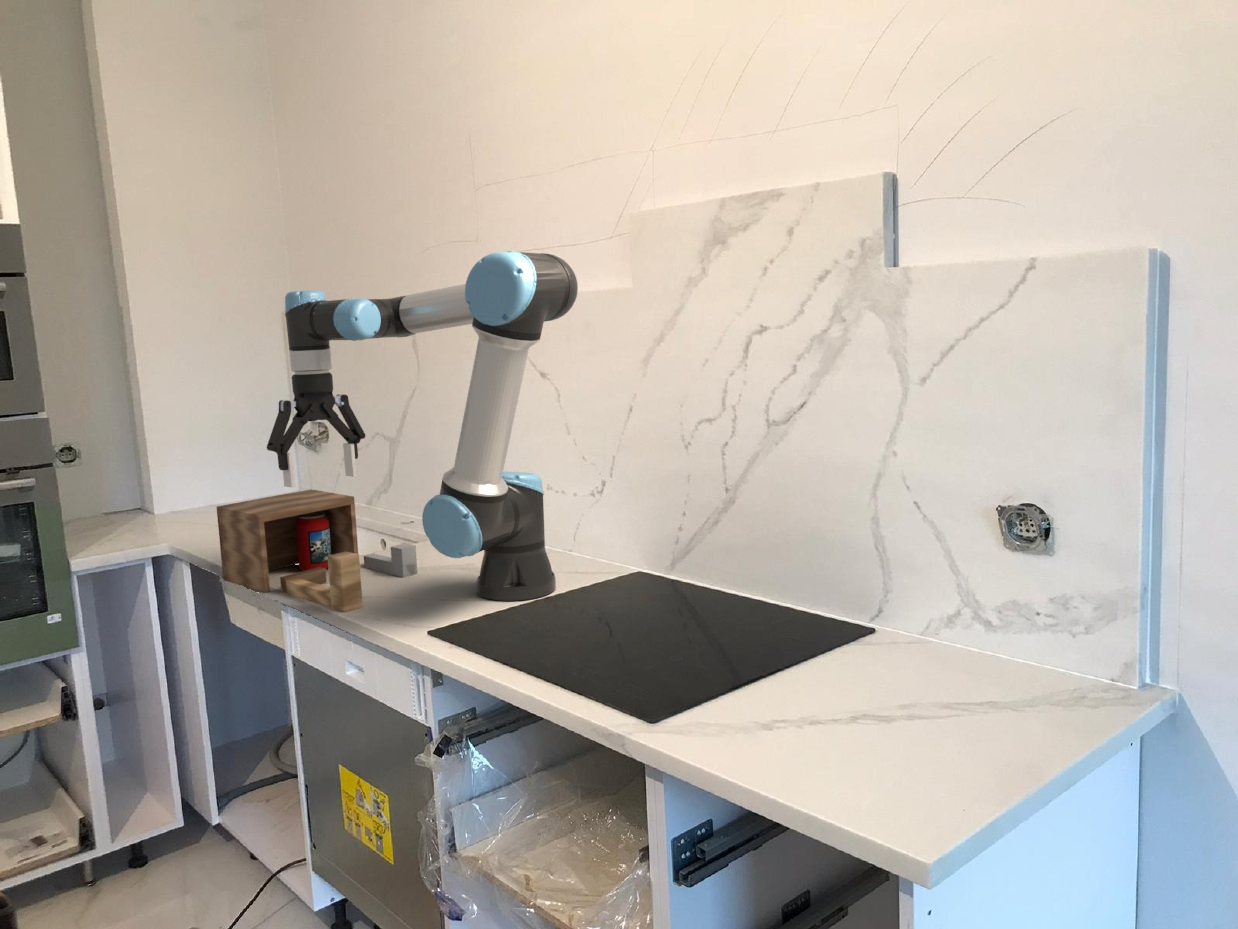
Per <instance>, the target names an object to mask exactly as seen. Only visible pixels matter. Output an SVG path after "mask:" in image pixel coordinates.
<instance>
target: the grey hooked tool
mask: <svg viewBox="0 0 1238 929" xmlns="http://www.w3.org/2000/svg"><path fill="white" fill-rule="evenodd" d="M417 560H418V559H417V546H416V544H409V543H406V542H405V543H401V544H397V545H393V546H392V545H391V546H390V556H387V555H383V554H378V553H370V554H365V555H363V567H364V568H366V569H370V568H371V569H370V570H375V571H379V572H384V573H388V574H391V575H392V576H394V577H395V576H396V577H398V578H407V577H408V578H409V577H411V576H414V575H418V561H417Z"/></svg>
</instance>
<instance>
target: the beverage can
mask: <svg viewBox="0 0 1238 929" xmlns="http://www.w3.org/2000/svg"><path fill="white" fill-rule="evenodd" d="M296 537H297V549H298V560H299V563H298V568H299V569H300V570H302V571H306V570H310V569H314V568H318V567H322V568H326V569H327V570H329V569H328V556H329V555H331V543H330V530H329V521H328V519H327V517H326V516H325V513H323V512H311V513H306V514H301V515H298V519H297V521H296Z"/></svg>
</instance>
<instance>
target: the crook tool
mask: <svg viewBox="0 0 1238 929" xmlns="http://www.w3.org/2000/svg"><path fill="white" fill-rule="evenodd" d="M360 562H361V561H360V554H359V553H358V554H355V553H351V552H347V551H345V552H341V553H337V554H333V555H329V556H328V569H327V570H328V581H329V582H328V581H327V570H326V568H322V567H318V568H314V569H310V570H306V571H303V570H302V571H299V572H294V573H291V574H285V575H283V576H280V577H279V580H280V591H281V593H284V594H288V595H292V596H294V597H298V598H302V599H305V600H309V601H311V602H315V603H319V604H321V605H322V604H323V605H325V606H329V607H330V608H331V610H332V609H333V610H335V611H339V612H342V613H347V612H350V611H354V610H356V609H360V608H362V607H364V606H363V604H364V603H363V593H362V592H363V590H362V579H361V578H362V577H361V563H360ZM327 582H328V583H329V586H327V585H324V584H327Z"/></svg>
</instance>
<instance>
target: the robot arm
mask: <svg viewBox="0 0 1238 929" xmlns="http://www.w3.org/2000/svg"><path fill="white" fill-rule="evenodd" d="M578 289H579V285H578V279H577V275H576V274H575V271H574V270H573V268H572V267H571V266H570V265H569V263H568V262H566V261H565V260H564V259H563V258H561V257H559V256H557V255H554V254H550V253H543V252H542V253H536V252H523V251H513V250H505V251H500V252H498V251H497V252H493V253H489V254H486V255H485V256H484V257H482V258H480V259H479V260H478V261H476V263H475V264H473V266H472V268H471V269H470V271H469V273H468V275H467V278H466V281H465V283H463V284H458V285H452V286H448V287H443V288H438V289H432V290H428V291H423V292H417V293H412V294H408V295H402V296H396V297H390V298H377V299H376V298H360V297H358V298H357V297H356V298H352V297H351V298H347V299H346V298H345V299H335V300H334V299H333V300H327V299H326V293H325V292H324V291H322V290H301V291H289V292H287V293H286V294H285V297H284V300H285V301H284V304H285V305H284V309H285V310H284V317H285V320H286V321H285V322H286V329H287V330H286V332H287V340H288V351H289V361H290V371H292V372H293V373H294V374H292V375H291V386H292V393H293V395H294V397H293V401H291V400H286V399H282V400H279V402H278V411H277V412H278V413H277V416H276V418H275V422H274V424H273V427H272V430H271V433H270V436H269V439H268V442H267V445H266V450H267V451H269V452H274V453H275V454H277V455H276V456H277V463H278V469H279V470H280V471H282V476H283V477H282V478H283V485H284V487H288V488H295V487H296V481H295V480H296V479H295V467H294V459H293V453H292V452H289V451H290V449H291V447H292V446H293V444H294V442H295V441H296V439H297V438H298V436H299V434H300V432H301V431H302V429H303V427H304V426H305V425H306V424H308V422H316V421H318V420H319V421H327V422H328V423H329V424H330V425H331V426H332V427H333V428H334V429H335V430H336V432H337V433H338V434H339V435H340V436H341V437H342V438H343V439H344V441H346V442H345V443H342V446H343V460H344V470H345V476H346V477H357V476H358V475H357V464H356V460H357V459H358V457H359V453H358V452H359V450H358V444H360V442H361V440H363V439H364V440H365V438H366V433H365V432H364V430H363V428H362V426H361V423H360V422H359V421H358V418H357V417H356V415H355V412H354V411H353V409H352V408H351V405H350V401H349V397H348V394H341V393H339V394H336V395H335V396H334V395H333V391H334V381H333V374H332V373H331V372H330V370H331V369H332V368H333V366H332V358H331V345H330V341H353V342H356V341H364V340H369V339H382V338H383V339H385V338H407V337H409V336H414V335H416V334H420V333H426V332H431V331H437V330H443V329H448V328H449V329H450V328H455V327H462V326H468V325H471V327H472V328H473V330H474V332H475V333H476V334H477V336H478V339H477V346H476V351H475V355H474V361H473V365H472V372H471V376H470V382H469V387H468V392H467V397H466V403H465V408H464V413H463V416H462V418H463V419H462V424H461V428H460V431H459V432H460V433H459V438H458V442H457V449H456V454H455V459H454V463H453V464H454V465H453V467H452V468H451V469H449V470H447V471H446V472H444V473H443V476H442V479H441V480H442V481H441V484H440V491H439V494H437V495H433V497H431V498H430V499H429V500H428V501H427V503H426V504H425V506H424V508H423V510H422V518H421V520H422V527H423V528H422V529H423V530H424V533H425V535H426V537H427V538H428V540H429V543H430V545H431V546H432V547H433V548H434V549H435V550H436V551H437V552H438V553H440V554H441V555H443V556H445V557H447V558H448V557H449V558H452V559H461V558H464V557H472V556H474V555H476V554H478V553H480V552H484V553H483V557H482V561H481V566H480V571H479V575H478V576H477V579H476V593H477V595H478V596H480V597H482V598H485V599H488V600H495V601H507V602H508V601H512V602H514V601H525V600H526V601H527V600H532V599H536V598H541V597H545V596H547V595H549V594H551V593H553V592H554V591H556V587H557V586H556V576H555V573H554V571H553V569H552V566H551V562H550V560H549V557H548V553H547V551H546V541H545V540H546V539H545V538H546V537H545V534H546V533H545V514H544V511H545V509H544V495H545V493H544V491H543V481H542V478H541V477H540V476H539V475H538V474H536V473H533V472H524V471H523V472H521V471H504V470H505V469H504V468H505V464H506V459H507V454H508V449H509V445H510V439H511V435H512V430H513V425H514V421H515V416H516V411H517V407H518V406H517V405H518V402H519V396H520V393H521V388H522V384H523V379H524V374H525V373H524V372H525V368H526V364H527V359H528V354H529V351H530V350H529V349H530V348H531V347H533V345H536V344H537V343H539V342H540V341H541V337H542V331H543V328H544V322H551V321H555V320H557V319H560V318H562V317H563V316H565V315H566V314H567V313H568V312H569V311H570V310H571V309H572V307H573V306H574V304H575V302H576V300H577V296H578V291H579V290H578ZM335 405H336V406H337V408H338V410H339V413H340V414H341V416H342V418H343V420H344V421H345V422H344V421H343V420H342V419H341V418H340V417H339V415H338V413H337V412H336V411H335V410H334V409H333V408H334V406H335ZM294 409H295V411H296V413H295V414H294V415H293V417H292V421H291V423H290V425H289V421H290V418H291V414H292V412H293V411H294ZM288 425H289V426H288ZM287 427H288V428H287Z"/></svg>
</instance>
